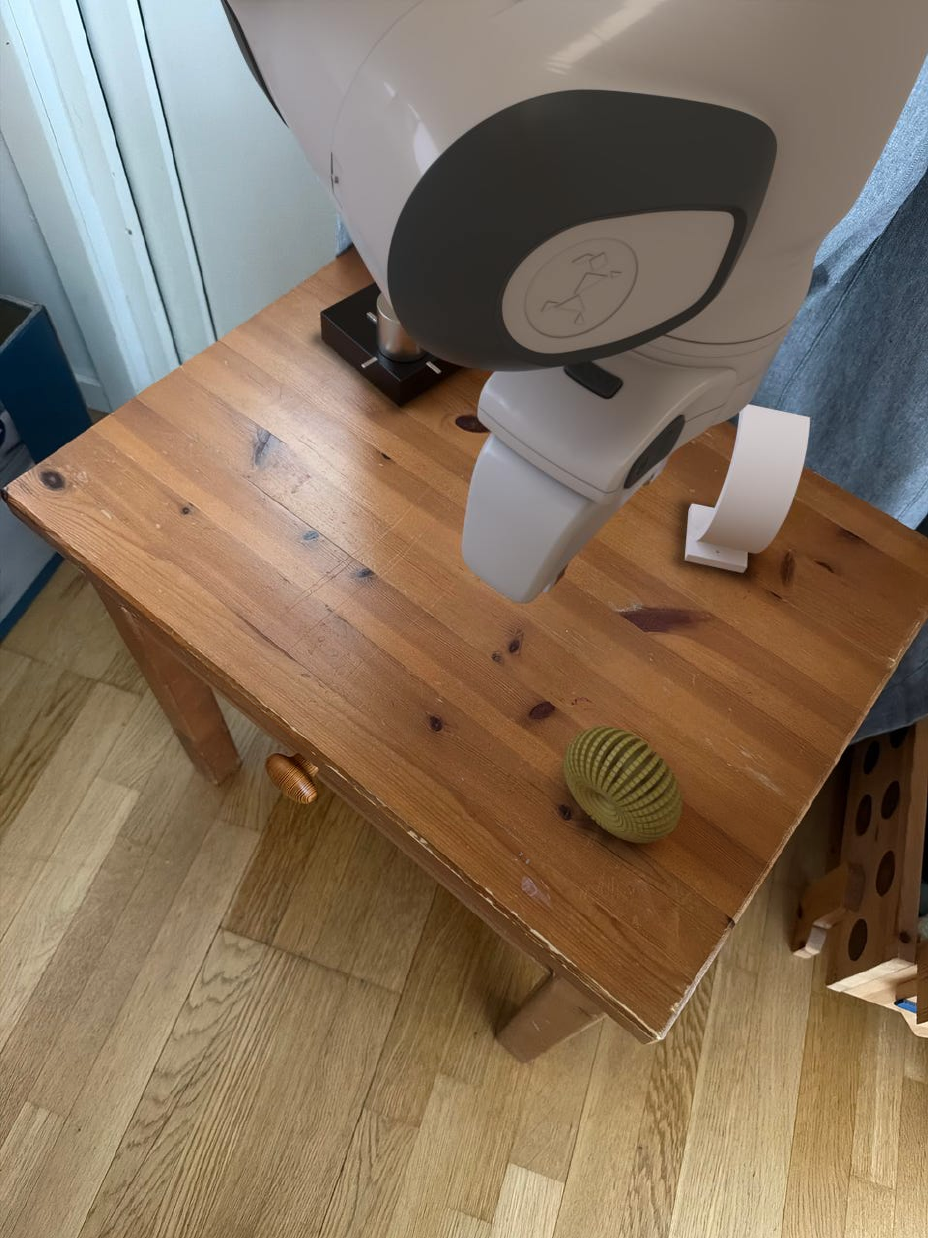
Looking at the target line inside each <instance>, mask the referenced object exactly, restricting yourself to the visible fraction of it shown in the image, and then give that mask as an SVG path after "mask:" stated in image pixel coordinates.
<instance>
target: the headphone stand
mask: <svg viewBox="0 0 928 1238" xmlns="http://www.w3.org/2000/svg"><path fill="white" fill-rule="evenodd" d="M810 424H811V417H810V416H805V415H800V414H796V413H791V412H787V411H786V412H785V411H782V410H777V409H773V408H768V407H763V406H759V405H754V404H750V403H748V405H747V406H746V407H745V408H744V409H743V410H741V411H740V412H739V413H738V424H737V431H736V437H735V441H734V447H733V452H732V456H731V459H730V463H729V467H728V470H727V474H726V477H725V479H724V483H723V486H722V489H721V491H720V494H719V497H718V499H717V502H716V504H715V506H714V507H711V506H707V505H702V504H697V503H691V504H690V506H689V509H688V512H687V513H688V514H687V526H686V527H687V528H686V539H685V552H684V561H686V562H689V563H694V564H699V565H703V566H704V565H705V566H709V567H714V568H719V569H722V570H727V571H731V572H737V573H742V574H744V572H745V571H746V570H747V568H748V553H751V554H757V555H758V554H760V553H762V552H764V551H765V550H766V549H767V548H768V547H769V545H771V543H772V542H773V541H774V539H775V538H776V536H777V534H778V533H779V531H780V529H781V527H782V525H783V523H784V521H785V520H786V518H787V516H788V513H789V511H790V508H791V506H792V504H793V500H794V499H795V498H794V497H795V495H796V493H797V490H798V486H799V483H800V479H801V476H802V473H803V469H804V464H805V460H806V454H807V449H808V446H809V445H808V444H809V438H810V437H809V436H810Z"/></svg>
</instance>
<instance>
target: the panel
mask: <svg viewBox="0 0 928 1238" xmlns="http://www.w3.org/2000/svg"><path fill="white" fill-rule="evenodd" d="M380 294H381V290H380V288H379V287H378V285H377V283H376V282H375V281H374V282H372V283H370V284H368V285H366V286H365V287H363V288H361V289H359V290H357V291H355V292H353V293H352V294H351V295H348V296H347V297H344V298H343V299H341V300H339V301H337V302H336V303H333V304H332V305H330V306H328V307H326V308H325V309H323V310H321V311H320V312H319V318H320V319H319V320H320V336H321V340H322V342H324V343H325V344H326V345H327V346H329V348H331V350H333V351H334V352H335V353H337V355H339V356H340V357H341V358H342V359H343V360H344V361H345V362H346V363H348V364H349V365H350V366H351V367H352V368H353V369H355V370H356V371H357V372H358V373H359V374H360V375H361V376H363V377H364V378H365V379H366V380H367V381H368V382H369V383H370V384H371V385H373V386H374V387H375V388H376V389H378V391H380V392H381V393H382V394H383V395H384V396H386V397H387V398H388V399H389V400H390V401H391V402H392V403H394V404H395V405H396V406H397V407H398V408H402V407H403V406H404V405H406V404H407V403H409V402H410V401H412V400H414V399H416V398H417V397H418V396H420V395H421V394H423V393H425V392H426V391H428V390H430V389H431V388H432V387H434V386H437V384H439V383H441V382H442V381H443V380H446V379H447V378H448V377H450V376H452V375H454V374H455V373H456V372H458V371H460V370H461V369H462V368H465V367H464V366H460V365H457V364H453V363H450V362H448V361H445V360H442V359H440V358H438V357H436V356H434V355H432V354H431V353H429V352H427V354H426V355H425V356H424V357H422V358H421V359H419V360H416V361H412V362H398V361H394V360H391V359H389V358H387V357H386V356H384V355H383V354H382V353H381V352H380V351H379V349H378V347H377V343H376V331H377V299H378V297H379V295H380Z"/></svg>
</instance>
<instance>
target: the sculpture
mask: <svg viewBox="0 0 928 1238" xmlns="http://www.w3.org/2000/svg"><path fill="white" fill-rule="evenodd" d="M654 751H655V749H654V748H653V747H652V746H650V745H649V744H648V743H647V742H646V741H645V740H642V739H641V738H640V737H638V736H637V735H634V734H633V733H631V732H630V731H627V730H625V729H621V728H618V727H615V726H605V725H599V726H593V727H590V728H586V729H585V730H583V731H581V732H579V733H578V734H577V735H575V736H573V739H572V740H571V741H570V743H569V744H568V745H567V748H566V749H565V753H564V756H563V763H562V765H563V766H562V767H563V775H564V779H565V781H566V782H565V783H566V785H567V786H568V790H569V791H570V793H571V795H572V797H573V798H574V799H575V801H576V802H577V804H578V805H579V806H580V808H581V809H582V810H583V811H584V813H585V814H587V816H590V819H591V820H593V822H595V823H596V824H597V825H598V826H599V827H601V828H602V829H604V830H605V831H606V832H608V833H610V834H611V835H613V836H615V837H617V838H619V839H621V840H624V841H627V842H631V843H634V844H636V843H637V844H651V843H655V842H658V841H661V840H663V839H664V838H666V837H667V836H669V835H670V834H671V833H672V832H673V831H674V829H675V828H676V827H677V825H678V823H679V821H680V819H681V815H682V811H683V795H682V790H681V787H680V784H679V782H678V780H677V778H676V775H675V774H674V772H673V771H672V769H671V767H670V766H669V765H668V763H667V761H666V760H664V758H663V757H661V755H660V754H659V753H658V752H657V751H655V752H654ZM609 770H610V771H609ZM618 774H619V775H618Z"/></svg>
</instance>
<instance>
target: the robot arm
mask: <svg viewBox="0 0 928 1238" xmlns="http://www.w3.org/2000/svg"><path fill="white" fill-rule="evenodd" d="M219 1H220V3H221V6H222V8H223V11H224V14H225V16H226V19H227V21H228V24H229V26H230V29H231V32H232V34H233V36H234V39H235V41H236V44H237V46H238V49H239V51H240V53H241V55H242V57H243V60H244V61H245V65H247V68H248V69H249V71H250V73H251V75H252V76H253V78H254V80H255V81H256V83H257V84H258V86H259V88H260V89H261V91H262V93H263V94H264V96H265V97H266V99H267V100H268V101H269V103H270V105H271V106H272V109H274V110H275V112H276V113H277V115H278V116H279V118H280V119H281V121H282V122H283V124H284V125H285V126H286V127H287V128H288V129H289V131H290V132H291V134H292V136H293V138H294V139H295V142H296V143H297V145H298V146H299V148H300V150H301V152H302V153H303V155H304V157H305V159H306V161H307V163H308V164H309V166H310V167H311V169H312V171H313V173H314V175H315V176H316V178H317V180H318V182H319V183H320V185H321V187H322V189H323V191H324V192H325V194H326V197H328V199H329V201H330V203H331V205H332V206H333V209H335V211H336V214H337V215H338V216H339V218H340V221H341V224H342V226H343V228H344V229H345V231H346V233H347V235H348V237H349V238H350V240H351V242H352V243H353V245H354V247H355V249H356V251H357V253H358V254H359V256H360V258H361V260H362V261H363V263H364V265H365V267H366V269H367V270H368V272H369V273H370V275H371V277H372V279H373V280H374V282H376V283H377V285H378V287H379V288H380V290H381V292H382V293H383V295H384V297H385V298H386V300H387V302H388V303H389V305H390V306H391V308H392V310H393V311H394V313H395V314H396V317H397V319H398V320H399V322H400V324H401V326H402V327H403V328H404V330H405V331H406V333H407V334H408V335H409V336H410V337H411V338H412V339H413V340H414V341H415V342H416V343H417V344H418V345H419V346H420V347H422V348H423V349H424V350H426V351H427V352H429V353H431V354H432V355H434V356H436V357H438V358H440V359H442V360H445V361H448V362H450V363H453V364H457V365H460V366H464V367H463V368H469V369H474V370H478V371H479V370H480V371H487V372H493V373H492V374H491V375H490V376H489V378H488V379H487V381H486V382H485V384H484V385H483V388H482V389H481V392H480V395H479V400H478V404H477V419H478V421H479V423H481V424H482V425H483V426H484V427H485V428H486V429H487V430H489V431H490V434H489V435H488V437H487V439H486V441H485V442H484V444H483V446H482V447H481V450H480V452H479V455H478V456H477V459H476V461H475V464H474V468H473V472H472V475H471V478H470V482H469V483H470V484H469V489H468V494H467V499H466V507H465V514H464V518H463V519H464V520H463V528H462V538H461V539H462V540H461V556H462V560H463V562H464V564H465V566H466V567H467V568H468V569H469V571H470V572H472V573H473V574H474V576H476V577H477V578H479V579H480V580H481V581H482V582H484V583H485V584H486V585H487V586H488V587H490V588H491V589H492V590H494V591H495V592H497V593H498V594H499V595H501V596H502V597H505V598H506V599H508V600H510V601H511V602H514V603H517V604H521V605H522V604H525V605H526V604H531V603H532V602H534V601H535V600H536V599H537V598H538V597H539V596H540V595H541V593H543V594H547V593H549V592H550V591H551V590H552V589H553V588H554V587H555V586H556V585H557V584H558V582H559V581H560V580H561V579H562V578H563V577H564V576H565V574H566V572H567V571H566V570H567V569H568V566H569V564H570V563H571V562H572V561H573V560H574V558H575V557H576V556H577V555H578V554H579V553H580V552H581V551H582V550H583V549H584V548H585V547H586V545H588V544H589V542H590V541H591V540H592V539H594V537H595V536H596V535H597V534H598V533H599V532H600V531H602V529H603V528H604V527H605V526H606V524H607V523H609V521H611V519H612V518H613V517H614V516H615V515H616V514H617V513H618V512H619V511H620V510H621V509H622V508H623V507H624V506H625V505H626V503H627V502H629V500H630V499H631V498H632V497H634V495H635V494H636V493H637V492H638V491H639V490H640V489H641V487H642V486H644V487H647V486H649V485H650V484H651V483H652V482H654V480H655V479H656V478H658V476H659V475H660V474H661V473H662V472H663V471H664V469H665V467H666V466H667V462H668V461H669V459H670V457H671V456H672V455H673V454H674V453H675V451H677V449H679V448H681V447H683V446H684V445H686V444H687V443H689V442H690V441H692V440H694V439H695V438H697V437H698V436H700V435H702V434H703V433H704V432H705V431H707V430H708V429H709V428H710V427H714V426H717V425H719V424H721V423H724V422H727V421H728V420H730V419H732V418H733V417H735V416H737V414H738V415H739V412H740V411H741V410H743V409H744V408H745V407H746V406H747V405H748V404H750V403H751V402H752V400H753V398H754V397H755V396H756V393H757V392H758V390H759V388H760V386H761V384H762V382H763V380H764V379H765V377H766V375H767V373H768V371H769V370H770V369H769V368H770V367H771V365H772V363H773V361H774V359H775V358H776V355H777V353H778V351H779V350H780V348H781V347H782V344H783V342H784V341H785V339H786V337H787V335H788V333H789V331H790V329H791V328H792V325H793V323H794V321H795V320H796V318H797V316H798V314H799V312H800V310H801V308H802V306H803V304H804V303H805V300H806V298H807V295H808V293H809V290H810V286H811V283H812V278H813V273H814V266H815V261H816V260H815V259H816V256H817V254H818V251H819V250H820V248H821V245H822V244H823V242H824V241H825V239H826V238H827V236H828V235H829V234H830V233H831V232H832V231H834V229H835V228H836V227H837V226H838V225H839V224H840V223H841V222H842V221H843V219H844V218H846V216H847V215H848V214H849V212H850V211H851V210H852V209H853V208H854V206H855V204H856V202H857V201H858V199H859V197H860V196H861V194H862V192H863V190H864V188H865V187H866V185H867V183H868V180H869V178H870V176H871V175H872V173H873V171H874V169H875V168H876V166H877V164H878V162H879V160H880V158H881V156H882V154H883V152H884V150H885V148H886V146H887V144H888V141H889V140H890V137H891V136H892V133H893V131H894V130H895V128H896V126H897V124H898V122H899V120H900V117H901V115H902V113H903V111H904V109H905V107H906V104H907V103H908V100H909V97H910V96H911V93H912V91H913V89H914V87H915V86H916V83H917V80H918V78H919V76H920V73H921V71H922V69H923V66H924V64H925V62H926V59H927V57H928V0H219Z"/></svg>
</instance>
